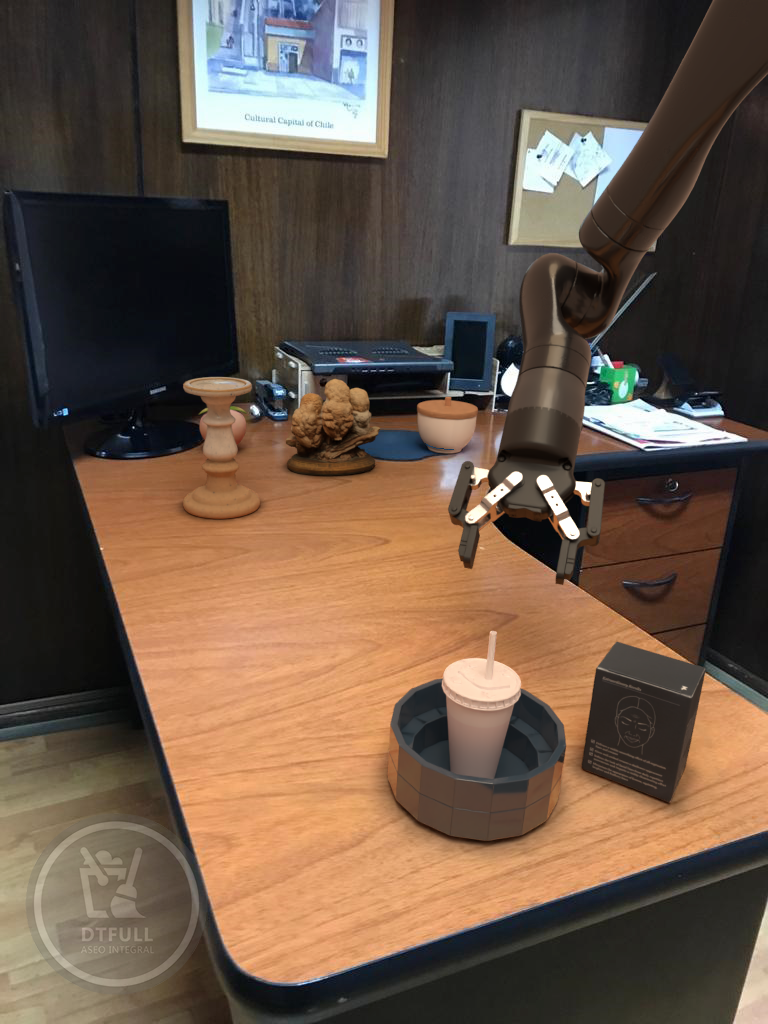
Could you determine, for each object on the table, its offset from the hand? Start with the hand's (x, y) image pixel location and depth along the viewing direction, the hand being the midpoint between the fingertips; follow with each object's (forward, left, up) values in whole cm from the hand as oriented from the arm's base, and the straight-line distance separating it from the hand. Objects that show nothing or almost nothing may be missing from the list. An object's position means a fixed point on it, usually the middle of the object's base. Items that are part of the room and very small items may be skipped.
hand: (512, 573), depth 71 cm
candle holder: (+45, -47, -15) cm, 67 cm away
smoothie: (+2, +11, -14) cm, 18 cm away
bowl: (+2, +12, -15) cm, 19 cm away
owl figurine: (+32, -73, -15) cm, 82 cm away
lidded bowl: (+12, -92, -15) cm, 94 cm away
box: (-12, +7, -15) cm, 20 cm away
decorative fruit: (+55, -77, -15) cm, 96 cm away
